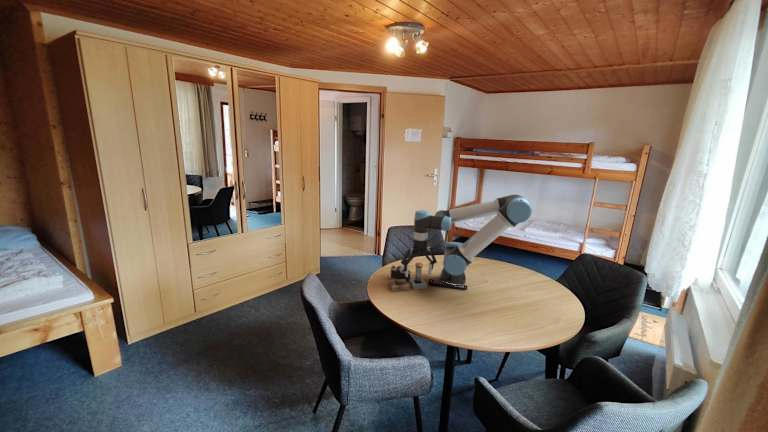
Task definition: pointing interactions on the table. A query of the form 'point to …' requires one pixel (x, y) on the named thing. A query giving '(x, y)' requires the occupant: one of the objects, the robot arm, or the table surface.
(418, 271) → the lock pin
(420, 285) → the plate
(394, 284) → the dock block
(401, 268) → the camera
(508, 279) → the table surface
